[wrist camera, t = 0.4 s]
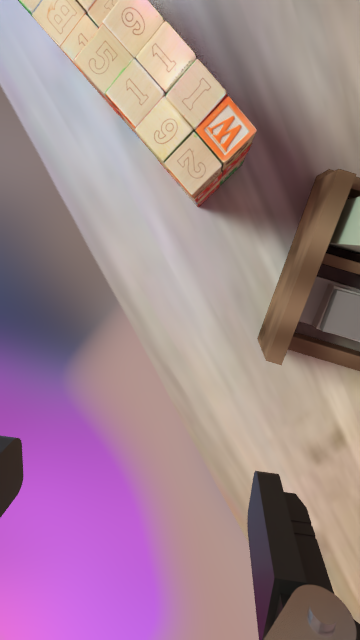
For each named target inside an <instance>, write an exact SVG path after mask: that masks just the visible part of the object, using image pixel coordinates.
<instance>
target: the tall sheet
mask: <svg viewBox="0 0 360 640" xmlns="http://www.w3.org/2000/svg"><path fill="white" fill-rule="evenodd" d="M329 245H330V246H334V247H337V248H340V249H344V250H347V251H351V252H354V253H357V254H360V197H356V198H352V199H348V200H346V202H345V205H344V207H343V210H342V212H341V215H340V217H339V220H338V222H337V225H336V228H335V230H334V233H333V235H332V238H331V240H330V243H329Z"/></svg>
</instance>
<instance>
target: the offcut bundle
mask: <svg viewBox="0 0 360 640" xmlns="http://www.w3.org/2000/svg"><path fill="white" fill-rule="evenodd" d="M299 321H300V322H303V323H306V324H310V325H313V326H314V327H315V328H316V329H319V330H322V331H323V332H327V333H331V334H335V335H338V336H342V337H345V338H348V339H351V340H354V341H358V342H360V289H357V288H354V287H351V286H348V285H344V284H341V283H338V282H335V281H331V280H328V279H325V278H322V277H318V276H316V278H315V281H314V283H313V286H312V289H311V291H310V294H309V296H308V299H307V301H306V304H305V306H304V309H303V311H302V314H301V317H300V319H299Z"/></svg>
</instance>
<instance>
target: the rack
mask: <svg viewBox="0 0 360 640" xmlns="http://www.w3.org/2000/svg"><path fill="white" fill-rule="evenodd" d="M347 197H351V198H356V197H360V178H358V177H356V174H355V173H351V172H348V171H344V170H341V169H338V170H336V171H334V170H330V169H329V170H327V171H325V172H323V173H322V174H320V175H318V176H317V177H316V179H315V182H314V185H313V188H312V190H311V193H310V196H309V199H308V201H307V204H306V207H305V210H304V212H303V215H302V218H301V221H300V223H299V226H298V229H297V231H296V234H295V237H294V240H293V242H292V245H291V248H290V251H289V253H288V256H287V259H286V262H285V264H284V267H283V270H282V273H281V275H280V278H279V281H278V284H277V286H276V289H275V292H274V295H273V297H272V300H271V303H270V306H269V308H268V311H267V314H266V317H265V319H264V322H263V325H262V328H261V330H260V333H259V336H258V341H259V344H260V346H261V349H262V351H263V354H264V356H265V359H266V361H269V362H272V363H276V364H279V365H282V362H283V360H284V357H285V355H286V352H287V350H288V349H289V350H292V351H295V352H298V353H302V354H305V355H308V356H312V357H315V358H318V359H322V360H325V361H328V362H332V363H335V364H338V365H342V366H345V367H348V368H351V369H355V370H358V371H360V352H359V351H356V350H353V349H349V348H346V347H343V346H339V345H336V344H333V343H329V342H326V341H323V340H319V339H316V338H313V337H309V336H306V335H303V334H299V333H296V332H295V329H296V327H297V324H298V322H299V319H300V317H301V314H302V311H303V309H304V306H305V304H306V301H307V299H308V296H309V294H310V291H311V289H312V286H313V283H314V281H315V278H316V276H317V273H318V271H319V268H320V266H321V263H322V264H325V265H328V266H332V267H335V268H339V269H342V270H345V271H349V272H352V273H356V274H359V275H360V263H358V262H354V261H351V260H347V259H344V258H341V257H337V256H334V255H330V254H327V253H326V250H327V248H328V245H329V243H330V240H331V238H332V235H333V233H334V230H335V228H336V225H337V222H338V220H339V217H340V215H341V212H342V210H343V207H344V205H345V202H346V200H347Z"/></svg>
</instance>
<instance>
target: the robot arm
mask: <svg viewBox="0 0 360 640" xmlns="http://www.w3.org/2000/svg"><path fill="white" fill-rule="evenodd" d="M22 481H23V461H22V443H21V440H20V439H19V438H13V437H6V436H0V517H1V516H2V515H3V513H4V512H5V511H6V509H7V508H8V507H9V505H10V504H11V503H12V501H13V500H14V499H15V497H16V496H17V494H18V493H19V490H20V488H21V485H22ZM248 537H249V547H250V557H251V566H252V576H253V585H254V595H255V604H256V614H257V623H258V633H259V640H360V624H359V623H358V622H356V621H355V620H354V619H353V617H352V615H351V613H350V611H349V610H348V608H347V607H346V606H345V604H344V603H343V602H342V601H341V600H340V599H339V598H338V597H337V596H336V595H335V594H334V592H333V589H332V586H331V583H330V580H329V577H328V574H327V570H326V567H325V564H324V561H323V558H322V555H321V552H320V549H319V546H318V542H317V539H315V533H314V530H313V527H312V526H311V521H310V518H309V515H308V511H307V508H306V507H305V505H304V504H303V503H302V502H301V500H300V499H299V498H298V496H297V495H296V494H294V493H287V492H283V488H282V484H281V480H280V476H279V474H274V473H267V472H259V471H255V473H254V477H253V483H252V490H251V496H250V502H249V509H248Z"/></svg>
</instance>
